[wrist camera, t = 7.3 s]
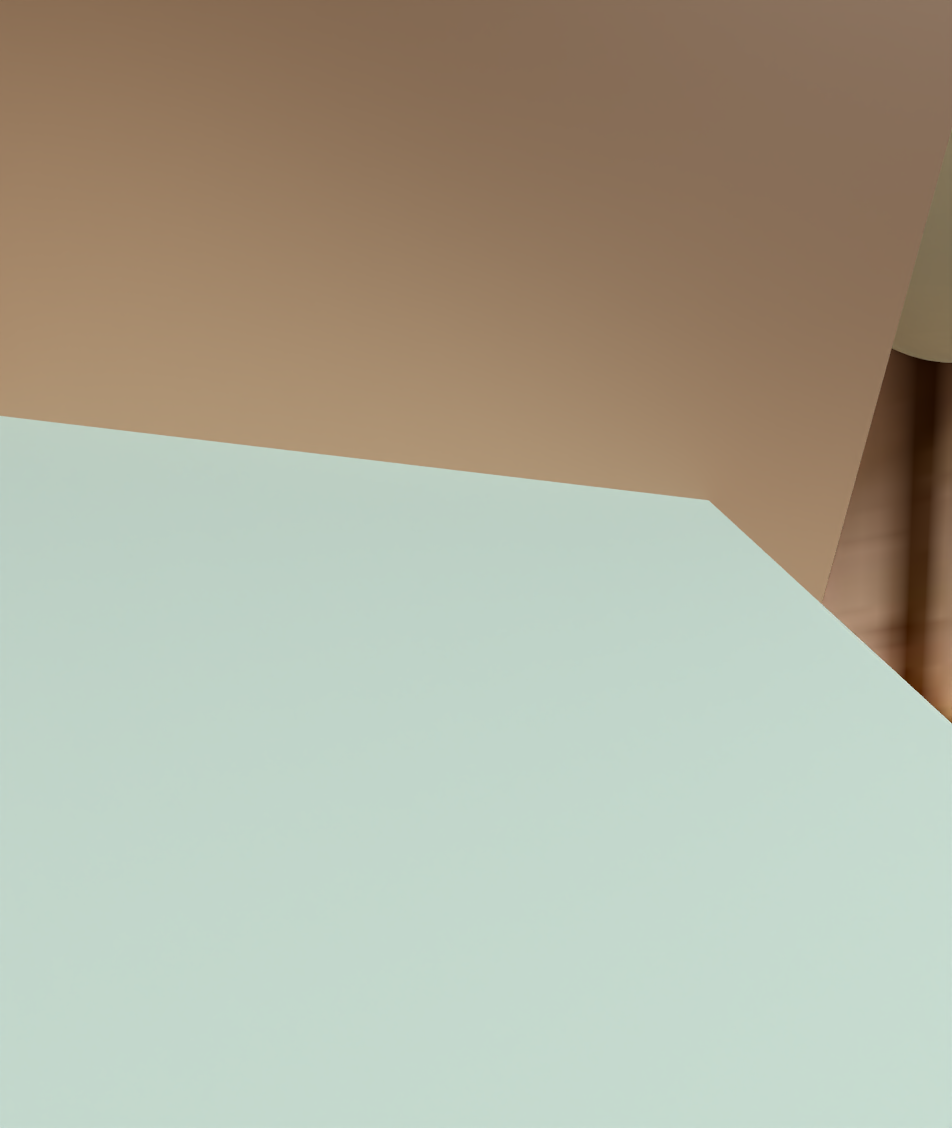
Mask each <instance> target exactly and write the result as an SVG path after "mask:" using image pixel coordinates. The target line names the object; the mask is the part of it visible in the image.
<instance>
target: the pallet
mask: <svg viewBox="0 0 952 1128" xmlns="http://www.w3.org/2000/svg"><path fill="white" fill-rule="evenodd" d="M951 130H952V0H0V416H5V417H14V418H22V419H30V420H39V421H47V422H56V423H64V424H72V425H81V426H89V427H97V428H106V429H114V430H123V431H131V432H139V433H148V434H156V435H165V436H173V437H181V438H190V439H198V440H207V441H215V442H223V443H232V444H240V445H249V446H257V447H265V448H274V449H282V450H290V451H299V452H307V453H316V454H324V455H332V456H341V457H349V458H358V459H366V460H374V461H383V462H391V463H400V464H408V465H416V466H425V467H433V468H441V469H450V470H458V471H467V472H475V473H483V474H492V475H500V476H509V477H517V478H525V479H534V480H542V481H551V482H559V483H567V484H576V485H584V486H592V487H601V488H609V489H618V490H626V491H634V492H643V493H651V494H660V495H668V496H676V497H685V498H693V499H702V500H709V501H710V502H711V503H712V504H713V505H714V506H715V507H716V508H718V509H719V510H720V511H721V512H722V513H723V514H724V515H725V516H726V517H727V518H728V519H730V520H731V521H732V522H733V523H734V524H735V525H736V526H737V527H738V528H739V529H740V530H741V531H743V532H744V533H745V534H746V535H747V536H748V537H749V538H750V539H751V540H752V541H753V542H755V543H756V544H757V545H758V546H759V547H760V548H761V549H762V550H763V551H764V552H765V553H767V554H768V555H769V556H770V557H771V558H772V559H773V560H774V561H775V562H776V563H777V564H779V565H780V566H781V567H782V568H783V569H784V570H785V571H786V572H787V573H788V574H789V575H790V576H792V577H793V578H794V579H795V580H796V581H797V582H798V583H799V584H800V585H801V586H802V587H804V588H805V589H806V590H807V591H808V592H809V593H810V594H811V595H812V596H813V597H814V598H816V599H817V600H818V601H819V602H820V603H821V604H822V601H823V597H824V594H825V590H826V586H827V583H828V579H829V575H830V572H831V568H832V564H833V561H834V557H835V553H836V550H837V546H838V542H839V539H840V535H841V531H842V528H843V524H844V521H845V517H846V513H847V510H848V506H849V502H850V499H851V495H852V491H853V488H854V484H855V480H856V477H857V473H858V469H859V466H860V462H861V458H862V455H863V451H864V447H865V444H866V440H867V437H868V433H869V429H870V426H871V422H872V418H873V415H874V411H875V407H876V404H877V400H878V396H879V393H880V389H881V385H882V382H883V378H884V374H885V371H886V367H887V364H888V360H889V356H890V353H891V349H892V345H893V342H894V338H895V334H896V331H897V327H898V323H899V320H900V316H901V312H902V309H903V305H904V301H905V298H906V294H907V290H908V287H909V283H910V280H911V276H912V272H913V269H914V265H915V261H916V258H917V254H918V250H919V247H920V243H921V239H922V236H923V232H924V228H925V225H926V221H927V217H928V214H929V210H930V207H931V203H932V199H933V196H934V192H935V188H936V185H937V181H938V177H939V174H940V170H941V166H942V163H943V159H944V155H945V152H946V148H947V144H948V141H949V137H950V133H951Z"/></svg>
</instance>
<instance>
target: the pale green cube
mask: <svg viewBox="0 0 952 1128" xmlns="http://www.w3.org/2000/svg"><path fill="white" fill-rule="evenodd" d="M0 1128H952V723H951V722H949V721H948V720H947V719H946V718H945V717H944V716H943V715H942V714H941V713H940V712H939V711H937V710H936V709H935V708H934V707H933V706H932V705H931V704H930V703H929V702H928V701H927V700H926V699H924V698H923V697H922V696H921V695H920V694H919V693H918V692H917V691H916V690H915V689H914V688H912V687H911V686H910V685H909V684H908V683H907V682H906V681H905V680H904V679H903V678H902V677H900V676H899V675H898V674H897V673H896V672H895V671H894V670H893V669H892V668H891V667H890V666H888V665H887V664H886V663H885V662H884V661H883V660H882V659H881V658H880V657H879V656H878V655H877V654H875V653H874V652H873V651H872V650H871V649H870V648H869V647H868V646H867V645H866V644H865V643H863V642H862V641H861V640H860V639H859V638H858V637H857V636H856V635H855V634H854V633H853V632H851V631H850V630H849V629H848V628H847V627H846V626H845V625H844V624H843V623H842V622H841V621H839V620H838V619H837V618H836V617H835V616H834V615H833V614H832V613H831V612H830V611H829V610H828V609H826V608H825V607H824V606H823V605H822V604H821V603H820V602H819V601H818V600H817V599H816V598H814V597H813V596H812V595H811V594H810V593H809V592H808V591H807V590H806V589H805V588H804V587H802V586H801V585H800V584H799V583H798V582H797V581H796V580H795V579H794V578H793V577H792V576H790V575H789V574H788V573H787V572H786V571H785V570H784V569H783V568H782V567H781V566H780V565H779V564H777V563H776V562H775V561H774V560H773V559H772V558H771V557H770V556H769V555H768V554H767V553H765V552H764V551H763V550H762V549H761V548H760V547H759V546H758V545H757V544H756V543H755V542H753V541H752V540H751V539H750V538H749V537H748V536H747V535H746V534H745V533H744V532H743V531H741V530H740V529H739V528H738V527H737V526H736V525H735V524H734V523H733V522H732V521H731V520H730V519H728V518H727V517H726V516H725V515H724V514H723V513H722V512H721V511H720V510H719V509H718V508H716V507H715V506H714V505H713V504H712V503H711V502H710V501H709V500H702V499H693V498H685V497H676V496H668V495H660V494H651V493H643V492H634V491H626V490H618V489H609V488H601V487H592V486H584V485H576V484H567V483H559V482H551V481H542V480H534V479H525V478H517V477H509V476H500V475H492V474H483V473H475V472H467V471H458V470H450V469H441V468H433V467H425V466H416V465H408V464H400V463H391V462H383V461H374V460H366V459H358V458H349V457H341V456H332V455H324V454H316V453H307V452H299V451H290V450H282V449H274V448H265V447H257V446H249V445H240V444H232V443H223V442H215V441H207V440H198V439H190V438H181V437H173V436H165V435H156V434H148V433H139V432H131V431H123V430H114V429H106V428H97V427H89V426H81V425H72V424H64V423H56V422H47V421H39V420H30V419H22V418H14V417H5V416H0Z"/></svg>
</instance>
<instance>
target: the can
mask: <svg viewBox="0 0 952 1128" xmlns="http://www.w3.org/2000/svg"><path fill="white" fill-rule="evenodd" d="M892 349H894V350H896V351H899V352H901V353H904V354H906V355H909V356H912V357H916V358H920V359H924V360H929V361H936V362H946V363H952V130H951V133H950V137H949V141H948V144H947V148H946V152H945V155H944V159H943V163H942V166H941V170H940V174H939V177H938V181H937V185H936V188H935V192H934V196H933V199H932V203H931V207H930V210H929V214H928V217H927V221H926V225H925V228H924V232H923V236H922V239H921V243H920V247H919V250H918V254H917V258H916V261H915V265H914V269H913V272H912V276H911V280H910V283H909V287H908V290H907V294H906V298H905V301H904V305H903V309H902V312H901V316H900V320H899V323H898V327H897V331H896V334H895V338H894V342H893V345H892Z"/></svg>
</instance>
